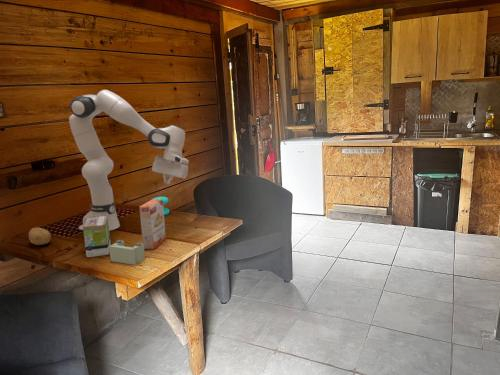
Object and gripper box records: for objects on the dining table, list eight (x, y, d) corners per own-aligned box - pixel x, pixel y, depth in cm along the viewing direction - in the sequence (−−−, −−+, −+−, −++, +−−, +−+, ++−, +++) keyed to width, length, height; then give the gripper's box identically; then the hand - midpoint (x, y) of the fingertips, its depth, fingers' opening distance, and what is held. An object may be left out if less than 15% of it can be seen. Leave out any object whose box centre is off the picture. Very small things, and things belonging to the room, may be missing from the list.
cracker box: (154, 249, 182) (150, 206, 177) (143, 249, 183) (138, 206, 178) (167, 239, 195) (163, 198, 190) (155, 238, 196) (151, 198, 191)
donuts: (171, 196, 237) (161, 201, 228) (172, 212, 239) (163, 217, 230) (158, 195, 241) (147, 199, 232) (159, 211, 243) (149, 215, 234)
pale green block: (110, 261, 171) (108, 244, 169) (121, 254, 177) (119, 238, 175) (135, 265, 166) (133, 247, 164) (145, 258, 172) (143, 242, 170)
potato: (36, 250, 187) (33, 235, 185) (25, 244, 196) (23, 229, 194) (57, 244, 194) (54, 229, 192) (46, 238, 203) (43, 223, 201)
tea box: (109, 254, 178) (105, 224, 175) (86, 258, 175) (81, 227, 172) (111, 243, 192) (107, 214, 189) (89, 246, 189) (85, 217, 186)
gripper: (152, 153, 201) (147, 179, 202) (184, 160, 193) (179, 187, 193) (159, 155, 207) (154, 180, 207) (191, 161, 198) (186, 188, 199)
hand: (166, 183), depth 200 cm, fingers closed
